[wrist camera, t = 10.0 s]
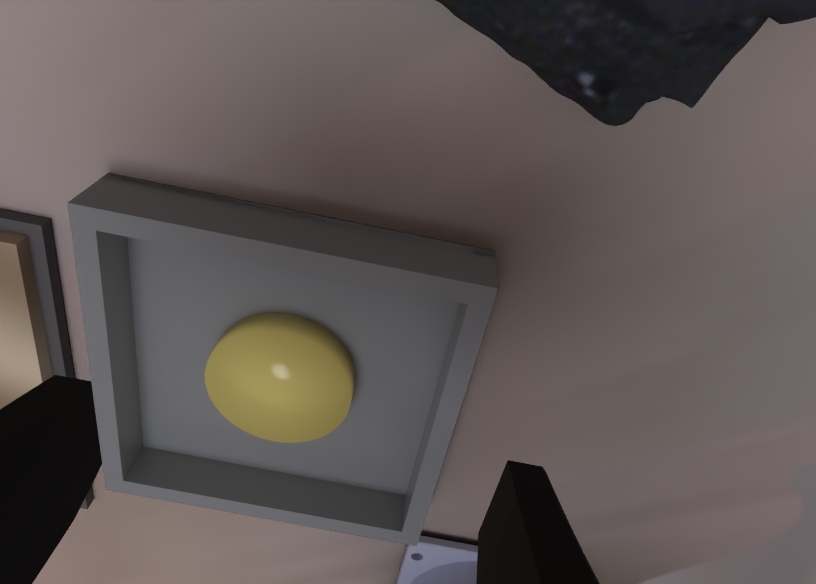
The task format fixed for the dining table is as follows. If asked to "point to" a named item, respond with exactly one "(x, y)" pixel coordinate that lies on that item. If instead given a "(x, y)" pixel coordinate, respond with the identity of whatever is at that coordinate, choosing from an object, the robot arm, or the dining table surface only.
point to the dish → (274, 355)
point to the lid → (20, 322)
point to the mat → (46, 291)
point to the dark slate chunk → (625, 44)
